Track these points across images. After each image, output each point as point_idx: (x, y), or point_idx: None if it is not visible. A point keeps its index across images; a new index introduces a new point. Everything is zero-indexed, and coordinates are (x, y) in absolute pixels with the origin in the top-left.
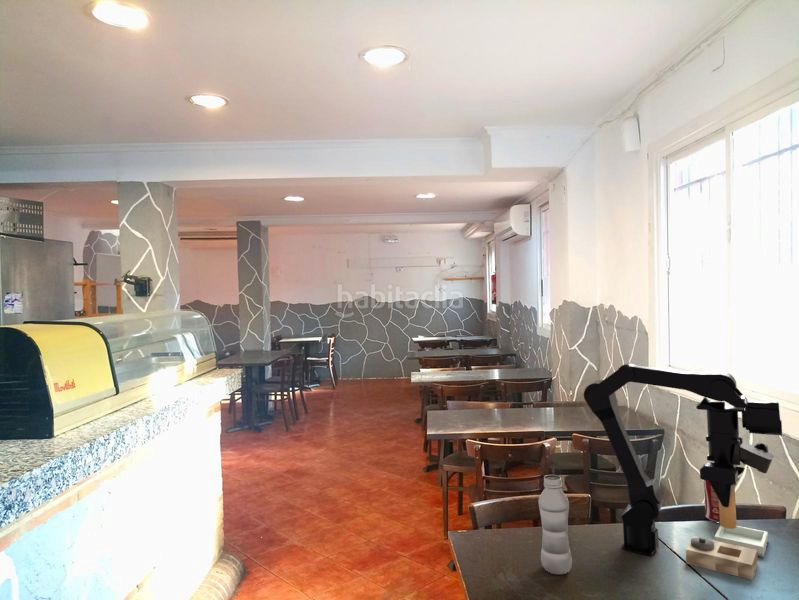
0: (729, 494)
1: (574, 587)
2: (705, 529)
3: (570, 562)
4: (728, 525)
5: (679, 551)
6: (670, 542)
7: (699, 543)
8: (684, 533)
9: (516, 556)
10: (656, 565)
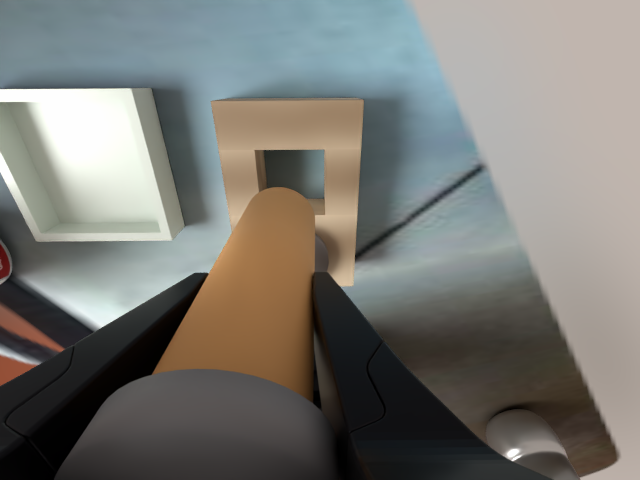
0: (378, 339)
1: (562, 385)
2: (87, 266)
3: (535, 426)
4: (314, 220)
5: None
6: None
7: (315, 266)
8: None
9: None
10: (397, 309)
